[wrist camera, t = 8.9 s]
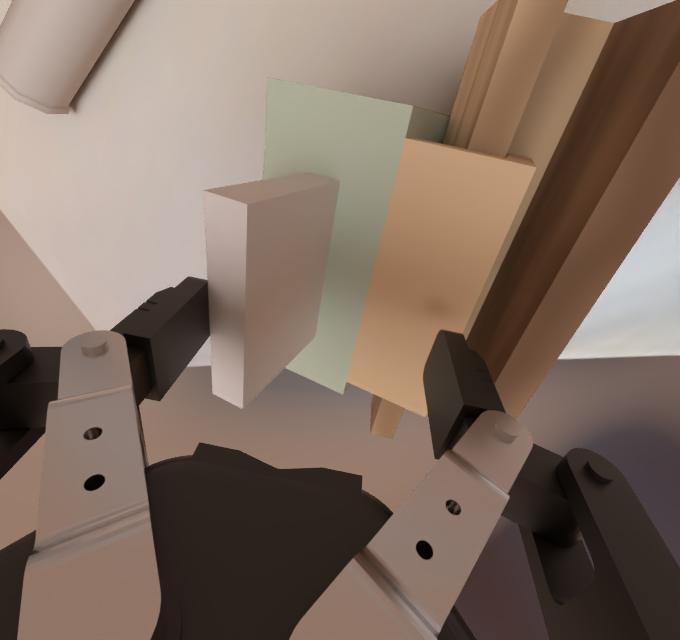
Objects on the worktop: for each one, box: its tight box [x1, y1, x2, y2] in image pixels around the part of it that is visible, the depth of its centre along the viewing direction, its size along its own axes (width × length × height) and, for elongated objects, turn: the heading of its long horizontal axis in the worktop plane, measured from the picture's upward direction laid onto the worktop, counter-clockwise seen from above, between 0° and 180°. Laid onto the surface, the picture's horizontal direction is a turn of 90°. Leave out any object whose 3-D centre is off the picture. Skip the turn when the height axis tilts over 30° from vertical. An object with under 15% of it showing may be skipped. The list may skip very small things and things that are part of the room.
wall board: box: [370, 0, 680, 439], centre depth 23 cm, size 12×22×20 cm, turn 170°
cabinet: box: [204, 78, 537, 417], centre depth 17 cm, size 10×14×16 cm
